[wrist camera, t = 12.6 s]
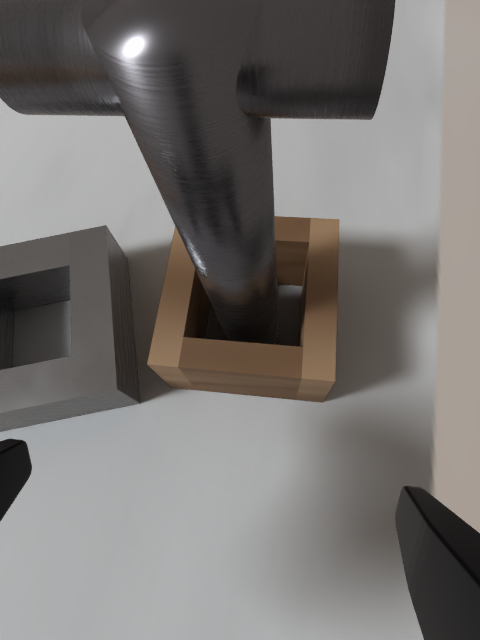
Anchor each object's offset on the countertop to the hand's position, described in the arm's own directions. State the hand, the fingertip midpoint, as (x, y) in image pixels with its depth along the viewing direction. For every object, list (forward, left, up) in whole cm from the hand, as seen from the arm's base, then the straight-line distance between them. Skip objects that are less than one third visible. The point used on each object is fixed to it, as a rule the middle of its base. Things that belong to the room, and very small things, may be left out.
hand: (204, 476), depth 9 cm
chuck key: (+3, -6, -8) cm, 11 cm away
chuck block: (+11, 0, -8) cm, 14 cm away
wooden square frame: (+3, -6, -8) cm, 11 cm away
